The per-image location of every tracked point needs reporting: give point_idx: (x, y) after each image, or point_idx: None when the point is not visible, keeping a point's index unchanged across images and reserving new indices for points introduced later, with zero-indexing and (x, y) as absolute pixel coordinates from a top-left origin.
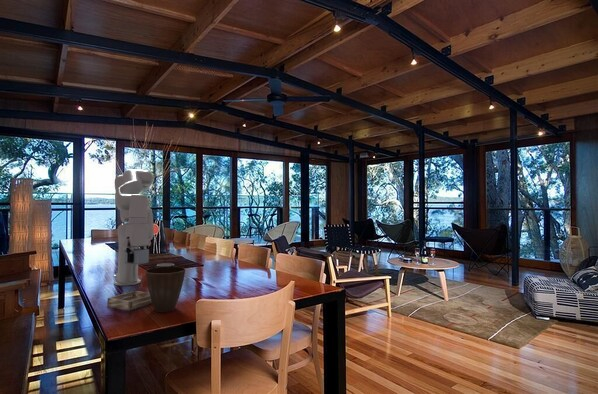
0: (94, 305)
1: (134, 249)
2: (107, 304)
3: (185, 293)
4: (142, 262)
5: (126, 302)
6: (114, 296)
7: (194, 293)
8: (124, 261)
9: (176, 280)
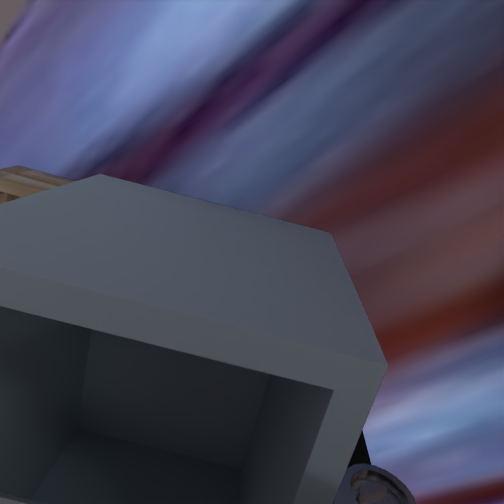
0: (9, 59)
1: (285, 362)
2: (8, 168)
3: (397, 453)
4: (139, 457)
5: None
6: (29, 192)
7: None
8: (84, 182)
9: None
